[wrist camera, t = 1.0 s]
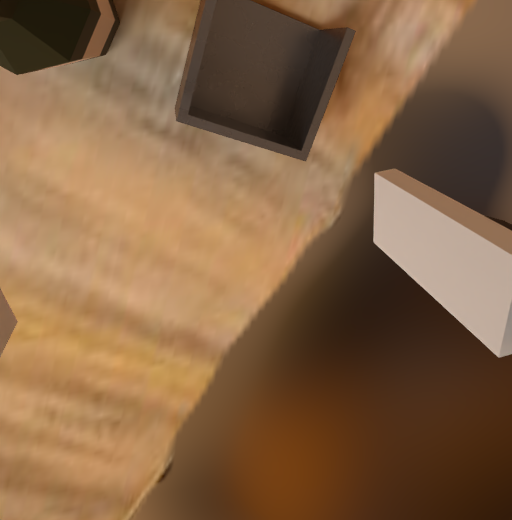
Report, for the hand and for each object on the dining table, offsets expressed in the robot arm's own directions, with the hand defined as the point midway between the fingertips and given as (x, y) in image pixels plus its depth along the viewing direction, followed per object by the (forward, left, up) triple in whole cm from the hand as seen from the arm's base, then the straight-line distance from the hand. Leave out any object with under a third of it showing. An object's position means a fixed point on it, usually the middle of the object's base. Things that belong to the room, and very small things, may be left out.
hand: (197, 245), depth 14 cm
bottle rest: (+6, +6, -33) cm, 34 cm away
